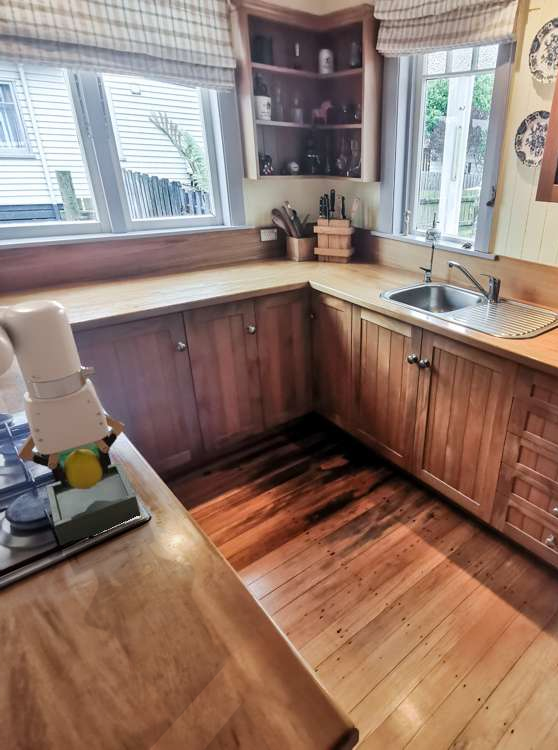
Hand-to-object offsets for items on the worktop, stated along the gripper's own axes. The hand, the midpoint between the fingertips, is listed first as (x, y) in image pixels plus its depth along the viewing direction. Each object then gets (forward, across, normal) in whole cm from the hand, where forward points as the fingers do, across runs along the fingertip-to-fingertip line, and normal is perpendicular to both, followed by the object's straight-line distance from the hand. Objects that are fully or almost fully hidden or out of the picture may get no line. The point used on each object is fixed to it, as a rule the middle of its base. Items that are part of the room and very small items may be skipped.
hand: (84, 474), depth 79 cm
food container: (+9, 0, -14) cm, 16 cm away
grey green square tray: (+8, 0, 0) cm, 8 cm away
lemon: (+3, 0, 0) cm, 3 cm away
